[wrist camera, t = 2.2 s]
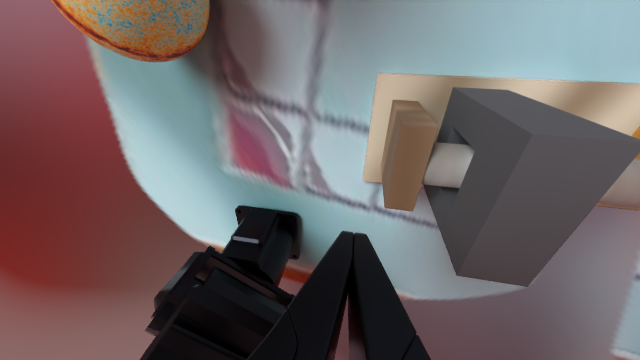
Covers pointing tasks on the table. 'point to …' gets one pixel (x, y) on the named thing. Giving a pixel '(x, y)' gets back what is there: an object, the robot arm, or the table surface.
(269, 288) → the robot arm
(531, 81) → the pipe stand
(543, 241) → the grey sliding block
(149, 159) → the table surface
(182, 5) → the ball
